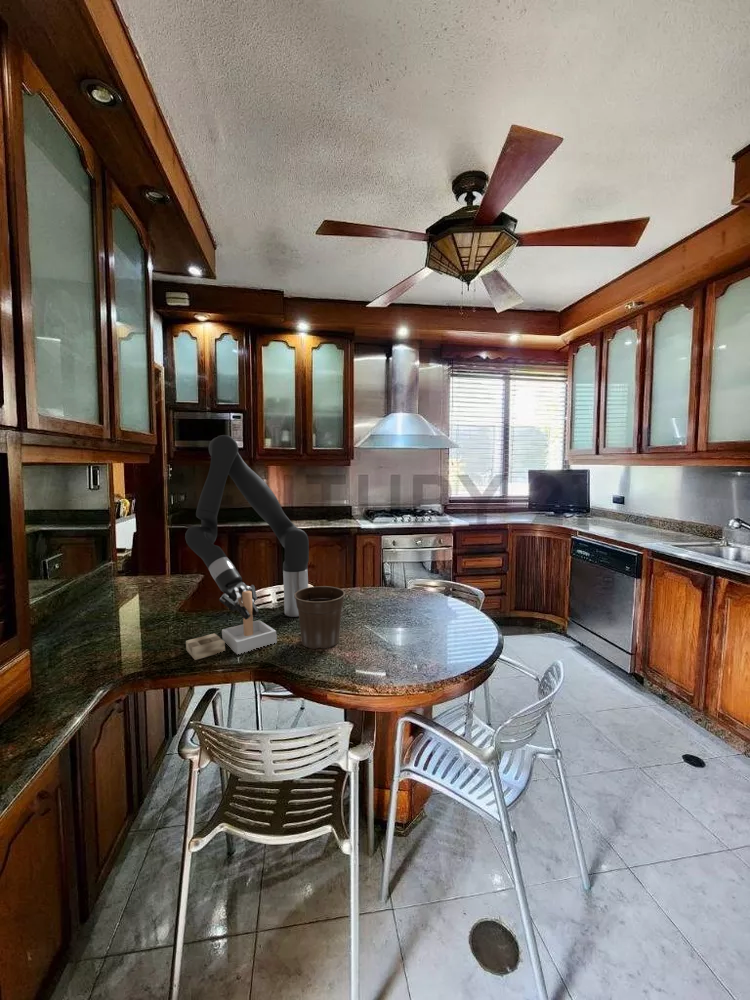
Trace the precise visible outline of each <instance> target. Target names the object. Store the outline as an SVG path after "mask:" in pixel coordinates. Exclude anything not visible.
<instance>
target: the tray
mask: <svg viewBox="0 0 750 1000" xmlns="http://www.w3.org/2000/svg"><path fill="white" fill-rule="evenodd" d="M221 637H222V638H221V639H222V640H223V641H224V642H225V643H226V644H227V645H228V646H229V647H230V648H231V649H230V648H229V647H228V646H227V645H226V644H225V645H226V646H227V647H228V648H229V649H230V650H232V651H233V652H234V653H235V654H236V655H237V656H238V654H239V655H242V654H245V653H248V651H249V652H252V651H254V650H253V649H255V650H257V649H256V648H259V649H261V648H260V647H262V648H264V647H263V646H265V647H268V646H267V645H269V646H271V645H270V644H272V645H275V644H277V643H278V641H277V640H278V639H277V630H275V629H274V628H273V627H271V626H270V625H268V624H266V623H265V622H264V621H261V620H260V619H258V620H253V635H251V636H244V627H243V623H242V624H239V625H234V626H231V627H226V628H223V629H221ZM274 643H275V644H274ZM251 650H252V651H251ZM244 652H245V653H244ZM241 653H242V654H241Z"/></svg>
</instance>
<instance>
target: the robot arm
mask: <svg viewBox="0 0 750 1000" xmlns="http://www.w3.org/2000/svg"><path fill="white" fill-rule="evenodd" d="M208 453H209V455H210V464H209V469H208V473H207V477H206V480H205V482H204V485H203V487H202V490H201V493H200V497H199V500H198V503H197V507H196V512H195V517H196V518H198V519H199V520H200V523H201V525H200V526H198V525H197V526H196V525H195V526H194V525H193V526H190V527H188V529H187V530H186V531H185V533H184V534H185V536H184V538H185V541H186V542H185V543H186V545H187V546H188V548H189V549H191V551H193V552H194V554H196V555H197V556H198V557H199V558H201V560H202V561H203V563H204V564H205V566H206V567H207V570H208V571H209V573H210V575H211V577H212V579H213V580H214V581H215V583H216V585H217V586H218V588H219V590H220V591H221V592H223V594H222V595H221V597H220V598H219V599H218V601H219V602H220V603H221V604H223V605H224V606H225V607H227V609H229V610H230V611H232V612H234V611H237V612H239V614H240V615H241V618H242V619H243V618H245V619H248V618H249V617H250V614H249V612H248V611H247V609H246V608H245V606H244V607H243V602H242V592H244V591H252V609H253V617H256V616H257V615H258V614H259V612H260V611H259V609H258V606H257V605H256V604H255V602H256V601H257V600H258V596H257V591H256V587H255V585H254V584H251V585H250V586H249V585H247V584H246V583H245V582H244V581H243V577H242V576H241V575H240V573H239V571H238V569H236V566H235V565H234V564H233V562H232V561H231V560H230V559H229V558H228V556H227V555H226V553H225V552H224V550H223V548H221V547H220V546H219V545H216V544H215V542H216V540H217V537H218V514H219V511H220V506H221V504H222V498H223V494H224V490H225V485H226V482H227V479H228V476H229V478H230V479H231V480H232V481H233V483H234V484H235V486H236V487H237V489H238V490H239V492H240V493H241V494H242V496H243V498H244V499H245V500H246V501H247V502H248V504H249V506H250V507H252V509H253V510H254V511H255V512H256V513H257V515H259V517H260V518H261V519H263V520H264V521H265V523H267V524H268V526H269V527H270V528H271V530H272V531H273V534H275V536H276V537H277V539H278V541H279V543H280V544H281V546H282V547H283V548H284V561H283V563H282V573H283V574H282V576H283V600H284V601H283V604H284V606H283V607H284V608H283V609H284V615H285V616H287V617H292V618H293V617H299V613H298V608H297V604H296V599H295V597H294V594H295V593H296V592H297V591H299V590H301V589H304V588H309V576H308V572H309V571H308V565H309V564H308V563H309V560H310V559H309V558H310V557H309V555H310V553H309V552H310V544H309V543H310V541H309V536H308V534H307V533H306V532H305V530H302V529H301V528H298V526H296V525H295V524H294V523H293V522H292V521H291V520H290V519H289V517H288V516H287V515H286V513H285V512H284V510H283V508H282V505H281V504H280V502H279V500H278V498H277V496H276V495H275V493H274V491H272V489H271V488H270V487H269V485H268V484H267V483H266V482H265V480H263V478H262V477H260V475H258V474H257V473H256V472H255V471H254V470H253V469H251V467H249V465H248V464H247V463H246V462H245V461H244V459H243V458H242V456H241V454H240V453H239V445H238V443H237V441H236V439H234V438H233V437H232V436H230V435H227V434H222V435H217V437H214V438H213V439H212V440H210V442H209V444H208Z"/></svg>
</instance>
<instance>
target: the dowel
mask: <svg viewBox="0 0 750 1000" xmlns="http://www.w3.org/2000/svg"><path fill="white" fill-rule="evenodd" d="M242 603H243V607H244V606H245V608H246V609H247V611H248V612H249V614H250V617H249V618H248V619H245V618H243V617H242V622H243V623H242V624H243V627H244V636H251V635H253V621H254V616H253V609H252V591H244V592H242Z"/></svg>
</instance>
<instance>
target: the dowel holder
mask: <svg viewBox="0 0 750 1000" xmlns="http://www.w3.org/2000/svg"><path fill="white" fill-rule="evenodd" d="M185 651H187V653H188V654H189V655H190V656H191V657H192V659H194V661H197V660H200V659H203V658H208V657H210V656H214V655H217V653H218V654H220V652H221V653H224V652H223V651H225V652H226V644H225V642H224V641H223V640H222V638H221V637H220V636H219V635H218V634H216V633H211V634H210V633H209V634H207V635H203V636H199V637H195V638H190V639H188V640H185Z"/></svg>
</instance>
